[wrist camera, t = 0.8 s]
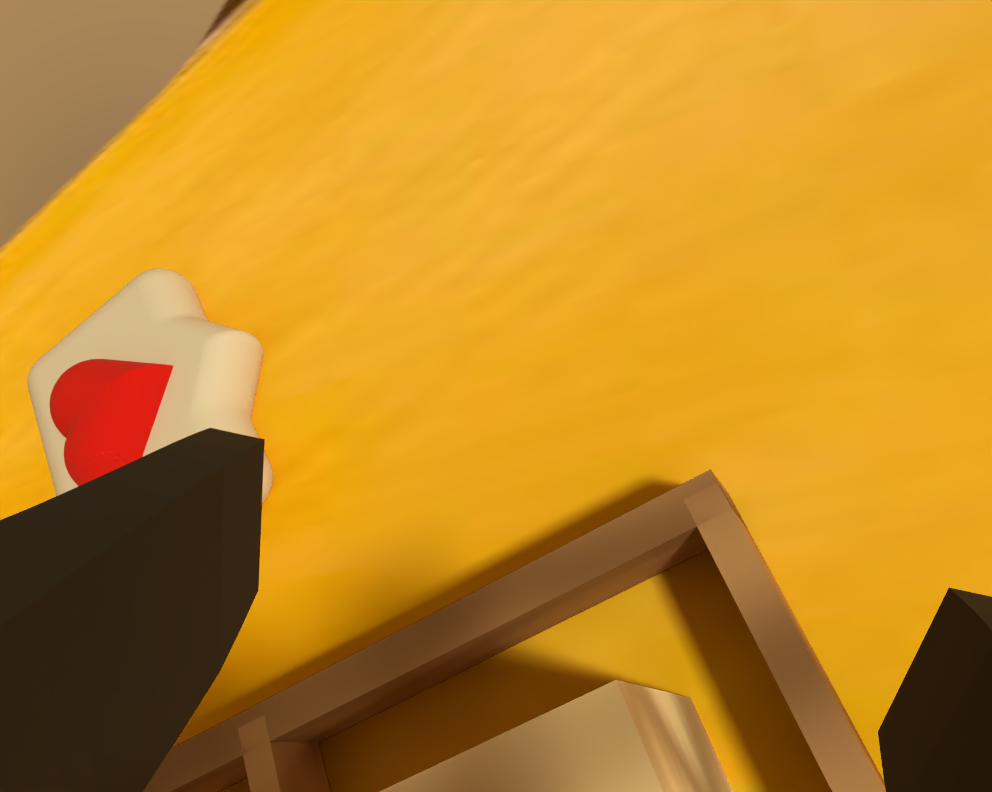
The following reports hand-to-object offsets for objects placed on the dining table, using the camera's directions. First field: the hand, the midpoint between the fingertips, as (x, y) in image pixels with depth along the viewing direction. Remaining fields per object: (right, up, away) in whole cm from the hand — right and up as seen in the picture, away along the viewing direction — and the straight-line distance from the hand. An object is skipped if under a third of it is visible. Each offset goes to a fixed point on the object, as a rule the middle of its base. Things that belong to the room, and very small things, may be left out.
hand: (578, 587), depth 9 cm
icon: (-13, +1, +27) cm, 30 cm away
